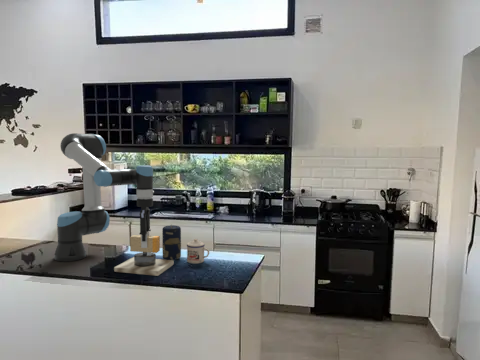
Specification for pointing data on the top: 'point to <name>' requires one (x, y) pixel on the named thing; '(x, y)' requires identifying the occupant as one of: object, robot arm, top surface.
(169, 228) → the canister
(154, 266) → the base plate
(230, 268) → the top surface
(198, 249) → the teacup with lid
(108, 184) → the robot arm
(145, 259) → the yellow block on stand
